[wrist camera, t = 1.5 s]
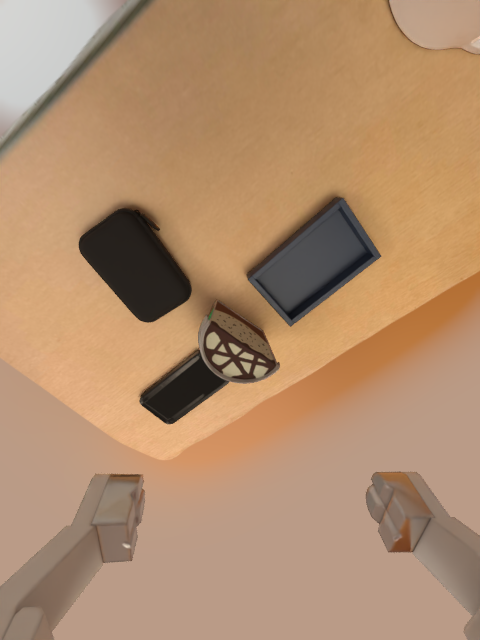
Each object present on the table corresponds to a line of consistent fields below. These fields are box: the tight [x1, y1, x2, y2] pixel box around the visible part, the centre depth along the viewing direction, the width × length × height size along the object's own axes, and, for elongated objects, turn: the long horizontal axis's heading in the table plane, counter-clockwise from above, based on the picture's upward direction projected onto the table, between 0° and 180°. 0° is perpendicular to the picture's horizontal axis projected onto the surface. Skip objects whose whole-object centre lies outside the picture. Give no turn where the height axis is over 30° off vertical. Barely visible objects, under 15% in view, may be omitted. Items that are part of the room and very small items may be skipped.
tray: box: [247, 197, 381, 326], centre depth 42 cm, size 16×10×2 cm, turn 131°
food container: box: [198, 299, 280, 384], centre depth 42 cm, size 12×6×10 cm, turn 53°
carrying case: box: [79, 208, 192, 322], centre depth 40 cm, size 11×3×15 cm
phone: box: [139, 350, 229, 424], centre depth 50 cm, size 8×1×15 cm
